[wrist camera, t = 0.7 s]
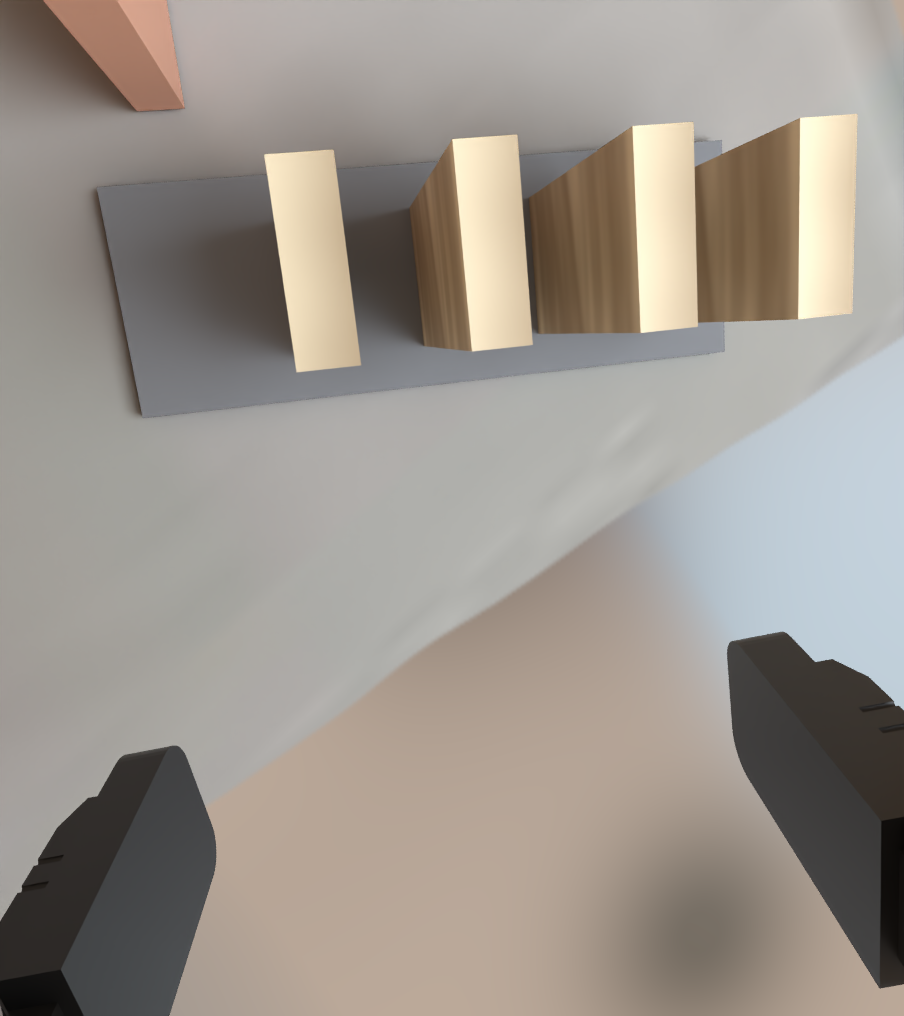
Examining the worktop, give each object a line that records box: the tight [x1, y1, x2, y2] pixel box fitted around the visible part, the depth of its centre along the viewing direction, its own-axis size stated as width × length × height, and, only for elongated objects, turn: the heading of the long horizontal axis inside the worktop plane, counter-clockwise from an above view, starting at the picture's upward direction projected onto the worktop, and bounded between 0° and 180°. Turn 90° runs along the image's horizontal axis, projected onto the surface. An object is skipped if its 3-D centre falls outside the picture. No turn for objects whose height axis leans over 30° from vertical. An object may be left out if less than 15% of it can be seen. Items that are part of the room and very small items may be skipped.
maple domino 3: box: [529, 122, 698, 334], centre depth 24 cm, size 2×5×10 cm, turn 6°
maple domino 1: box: [264, 150, 361, 372], centre depth 23 cm, size 2×5×10 cm, turn 6°
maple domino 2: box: [409, 135, 533, 351], centre depth 23 cm, size 2×5×10 cm, turn 6°
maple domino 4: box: [694, 114, 857, 323], centre depth 25 cm, size 2×5×10 cm, turn 6°
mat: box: [97, 140, 725, 418], centre depth 28 cm, size 23×8×1 cm, turn 96°
